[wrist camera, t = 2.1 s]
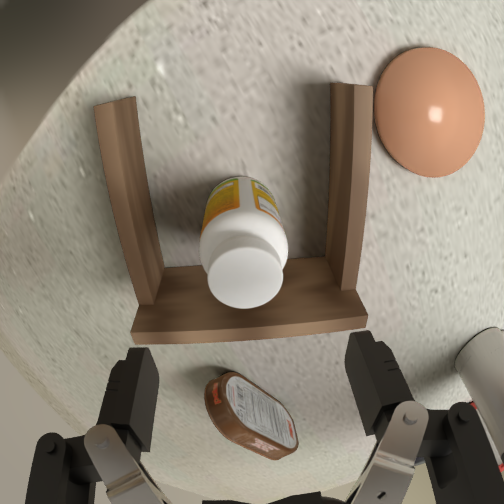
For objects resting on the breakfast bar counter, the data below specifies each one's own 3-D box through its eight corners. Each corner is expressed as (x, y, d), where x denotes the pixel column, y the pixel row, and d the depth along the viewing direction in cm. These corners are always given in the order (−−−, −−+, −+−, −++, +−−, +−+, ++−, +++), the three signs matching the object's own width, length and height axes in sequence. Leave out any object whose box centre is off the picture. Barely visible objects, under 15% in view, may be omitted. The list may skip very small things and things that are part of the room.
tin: (203, 367, 35) (200, 430, 27) (224, 355, 34) (225, 421, 27) (277, 416, 41) (284, 468, 34) (296, 407, 40) (305, 460, 33)
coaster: (479, 62, 19) (486, 63, 18) (470, 175, 24) (476, 179, 24) (373, 37, 19) (378, 36, 18) (370, 172, 24) (375, 176, 23)
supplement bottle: (204, 235, 26) (192, 315, 18) (208, 172, 24) (195, 230, 15) (269, 240, 27) (286, 321, 18) (280, 178, 24) (306, 239, 16)
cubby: (345, 83, 20) (395, 89, 14) (336, 266, 29) (365, 327, 22) (120, 99, 20) (71, 112, 13) (154, 279, 28) (135, 344, 21)
